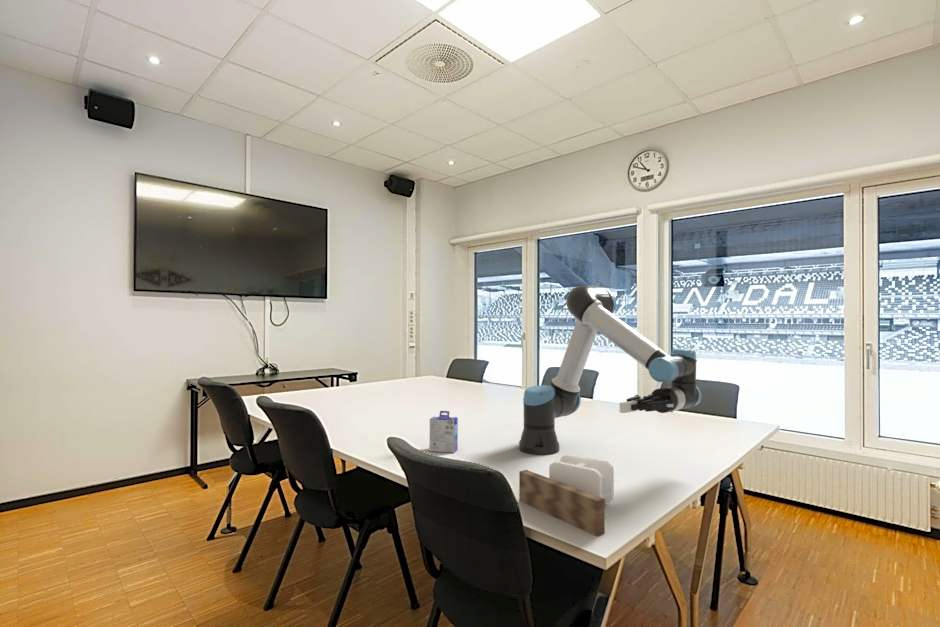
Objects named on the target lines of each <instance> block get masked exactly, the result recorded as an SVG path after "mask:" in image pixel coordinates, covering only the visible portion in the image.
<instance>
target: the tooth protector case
mask: <svg viewBox="0 0 940 627" xmlns="http://www.w3.org/2000/svg"><path fill="white" fill-rule="evenodd" d="M548 471H549V472H548V473H549V476H548V478H550V479H553V480H555V481H558V482H561V483H563V484H566V485H569V486H572V487H574V488H577V489H580V490H582V491H585V492H588V493H590V494H593V495H596V496H599V497H601V498H604V499H605V505H608V504H610V503H611V502H612V501H613V500H614V498H615V497H614V496H615V495H614V488H615V487H614V482H615V480H614V479H615V478H614V473H615V472H614V471H615V470H614V466H613V465H612V464H611V463H610V462H608V461H607V460H606V461H605V460H599V459H597V458H590V457H585V456H580V455H575V454H565V455H563V456H561V458H560V460H559V461H553V462H552V463H550V465H549V468H548Z"/></svg>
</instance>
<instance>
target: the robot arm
mask: <svg viewBox="0 0 940 627" xmlns="http://www.w3.org/2000/svg"><path fill="white" fill-rule="evenodd" d="M566 307H567V310H568V311H569V313H570V314H571V315H572V316H573V318H574V319H575V325H574V327H573V330H572V333H571V336H570V339H569V341H568V345H567V346H566V347H567V348H566V350H565V353H564V356H563V358H562V361H561V364H560V367H559V370H558V373H557V375H556V376H555V377H552V379H551V382H550V384H549V385H546V384H540V385H533V386H530V387H527V388H526V389H524V393H523V399H522V400H523V430H522V432H521V436H520V440H519V442H518V448H519V450H520V451H521V452H524V453H527V454H532V455H552V454H555V453H558V452H559V451H560V443H559V441H558V436H557V433H556V430H555V428H556V427H555V425H556V424H555V423H556V422H555V420H556V419H557V418H561V417H567V416H570V415H572V414H574V413H576V412H577V411H578V409H579V407H581V406H580V405H581V402H582V398H581V396H580V395H581V394H580V393H581V387H580V386H579V382H580V379H581V377H582V374H583V372H584V369H585V367H586V363H587V360H588V358H589V355H590V353H591V349H592V347H593V343H594V342H595V338H596V336H597V332H599V333H600V335H602V336H604V338H606V339H608V340H609V341H610V342H611V343H613V344H614V345H615V346H616V347H618V348H619V349H621V350H622V351H623V352H624V353H626V354H627V355H629V356H630V357H631V358H632V359H634V360H635V361H636V362H637V363H638V364H640V365H642V367H644V368H645V369H646V370H648V373H649V375H650V377H651V379H653V380H654V381H656V382H658V383H670V386H665V387H661V388H656V389H654V390H652V392H651V394H648V395H644V396H643V397H641V395H639V394H635V395H634V396H631V397H629V398H626V401H622V402H619V413H622V414H626V413H632V412H633V413H634V412H637V411H640V412H641V411H645V412H646V413H647V412H655V411H656V412H658V413H661V414H666V413H674V411H678V410H679V411H681V410H684V409H691V408H693V407H695V406H697V405H699V404H700V403H701V401H702V398H703V397H702V392H701V390H700V388H699V387H698V386H697V360H698V359H697V353H696V351H695V349H692V348H672V349H671V352H670V355H669V353H667V352H665V351H664V350H662V349H661V348H660V347H658V345H656V344H655V343H653V342H652V341H651V340H649V339H648V338H647V337H645V336H643V335H642V334H641V333H639V332H638V331H637V330H635V329H634V328H633V327H631V326H629V325H628V324H627V323H625V322H624V321H622V319H620V318H618V317H617V316H616V315H614V312H615V310H616V307H617V299H616V297H615V295H614V293H613V292H612V291H611V290H610V289H608V288H606V287H604V286H603V287H602V286H599V285H597V286H596V285H595V286H594V285H578V286H577V285H576V286H575V287H573V288H572V289H571V290H570V291H569V293H567V297H566Z"/></svg>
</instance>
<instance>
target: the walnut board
mask: <svg viewBox="0 0 940 627" xmlns="http://www.w3.org/2000/svg"><path fill="white" fill-rule="evenodd" d="M518 473H519V476H518V477H519V479H518V480H519V486H518V487H519V490H518V491H519V494H518V495H519V497H518V498H519V499H518V500H519V502H521V503H523V504H525V505H527V506H529V507H532V508H534V509H537V510H539V511H541V512H542V513H545V514H547V515H550V516H551V515H552V517H554V518H556V519H558V520H560V521H563V522H565V523H566V524H569V525H571V526H574V527H575V528H577V529H581V530H583V531H585V532H587V533H589V534H592V535H594V536H596V537H599V536H601V535H604V534H605V531H606V530H605V529H606V528H605V524H606V522H605V516H606V515H605V508H606V507H605V505H606V504H605V499H604V498H601V497H599V496H596V495H593V494H590V493H588V492H585V491H582V490H580V489H577V488H574V487H572V486H569V485H566V484H563V483H561V482H558V481H555V480H553V479H550V478H549V477H547V476H544V475H543V474H542V475H541V474H538V473H536V472H533V471H531V470H528V469H523V470H520V471H519V472H518Z"/></svg>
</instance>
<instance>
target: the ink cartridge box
mask: <svg viewBox="0 0 940 627" xmlns="http://www.w3.org/2000/svg"><path fill="white" fill-rule="evenodd" d="M444 413H445V414H444ZM458 425H459V419H458V417H455V416H450V410H440V411H439V416H432V417H431V418H429V449H428V450H429V452H439V453H451V454H452V453H455V452H456V451H458V450H459V448H458V447H459V446H458V445H459V444H458V441H459V440H458V439H459V438H458V437H459V435H458V433H459V432H458V431H459V428H458Z"/></svg>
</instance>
